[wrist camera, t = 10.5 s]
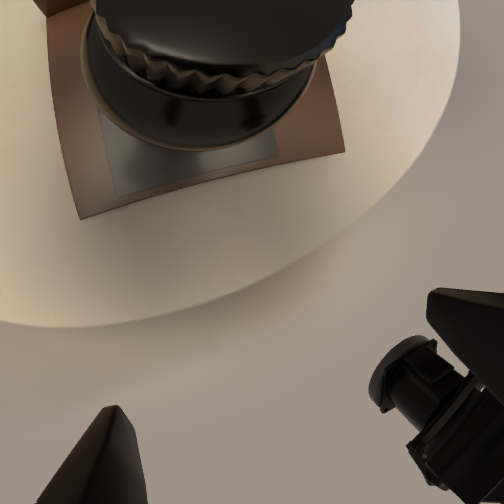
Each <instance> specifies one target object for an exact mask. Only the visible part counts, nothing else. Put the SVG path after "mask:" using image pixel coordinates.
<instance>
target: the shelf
mask: <svg viewBox="0 0 504 504" xmlns="http://www.w3.org/2000/svg"><path fill="white" fill-rule="evenodd" d="M33 1H34V2H35V4H36V5H37V6H38V7H39V9H40V10H41V11H42V13H43V14H44V15H45V16H46V21H47V47H48V61H49V72H50V81H51V90H52V97H53V104H54V111H55V117H56V123H57V129H58V134H59V139H60V144H61V149H62V154H63V158H64V163H65V167H66V171H67V175H68V179H69V183H70V187H71V191H72V195H73V198H74V202H75V205H76V209H77V212H78V216H79V219H80V220H82V219H85V218H88V217H91V216H94V215H97V214H100V213H103V212H106V211H109V210H112V209H115V208H118V207H121V206H124V205H128V204H131V203H134V202H137V201H140V200H144V199H147V198H150V197H154V196H157V195H161V194H164V193H168V192H171V191H175V190H178V189H182V188H185V187H189V186H193V185H196V184H200V183H204V182H208V181H212V180H216V179H220V178H224V177H228V176H232V175H236V174H240V173H244V172H249V171H253V170H257V169H262V168H266V167H271V166H276V165H280V164H285V163H290V162H295V161H300V160H305V159H310V158H315V157H321V156H326V155H332V154H337V153H343V152H345V146H344V141H343V135H342V130H341V125H340V120H339V115H338V110H337V105H336V100H335V96H334V91H333V87H332V83H331V78H330V74H329V70H328V66H327V62H326V58H325V54H324V55H322V56H320V57H319V58H318V59H317V65H316V68H315V72H314V76H313V78H312V81H311V83H310V85H309V87H308V89H307V91H306V93H305V95H304V96H303V98H302V99H301V101H300V102H299V103H298V105H297V106H296V107H295V108H294V109H293V111H292V112H291V113H290V114H289V115H288V116H287V117H286V118H285V119H283V120H282V121H281V122H280V123H278V124H277V125H276V126H274V127H273V128H271V129H270V130H268V131H267V132H265V133H263V134H261V135H259V136H258V137H255V138H253V139H251V140H248V141H246V142H244V143H241V144H238V145H235V146H232V147H228V148H224V149H219V150H214V151H208V152H203V153H197V154H191V155H173V154H167V153H162V152H159V151H156V150H153V149H151V148H149V147H147V146H145V145H144V144H142V143H141V142H139V141H138V140H136V139H135V138H133V137H132V136H130V135H129V134H127V133H126V132H124V131H123V130H122V129H120V128H119V127H118V126H116V125H115V124H114V123H113V122H112V121H111V120H110V119H109V118H108V117H107V116H106V115H105V114H104V113H103V112H102V111H101V109H100V108H99V107H98V105H97V104H96V102H95V101H94V100H93V98H92V96H91V94H90V92H89V91H88V88H87V86H86V83H85V81H84V77H83V73H82V68H81V61H80V47H81V38H82V34H83V29H84V26H85V23H86V21H87V18H88V16H89V14H90V12H91V10H92V8H93V7H92V5H91V3H90V0H33Z"/></svg>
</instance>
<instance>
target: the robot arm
mask: <svg viewBox="0 0 504 504" xmlns="http://www.w3.org/2000/svg"><path fill="white" fill-rule="evenodd" d="M426 318H427V321H428V323H429V324H430V325H431V327H432V328H433V329H434V330H435V331H436V332H437V334H438V335H439V336H440V337H441V338H442V340H443V341H444V342H445V343H446V345H447V346H448V347H449V348H450V349H451V351H452V352H453V353H454V354H455V355H456V356H457V357H458V358H459V359H460V361H461V362H463V364H464V365H465V366H466V367H467V368H468V369H469V373H468V375H467V376H466V377H463V376H462V375H461V374H460V373H458V372H457V371H455V370H454V366H452V365H451V364H450V363H448V362H447V361H446V360H444V359H443V358H442V357H440V356H439V355H438V354H436V348H437V341H436V340H435V339H432V340H430V341H428V342H427V343H425V344H424V345H422V346H420V347H419V348H417V349H415V350H414V351H412V352H410V353H408V354H407V355H405V356H403V357H402V358H400V359H398V360H396V361H395V362H393V363H391V364H389V365H387V366H386V367H385V369H384V371H383V382H382V394H381V404H380V411H381V412H382V413H386V412H388V411H390V410H391V409H393V408H395V407H396V408H397V409H398V410H399V411H400V412H401V413H402V414H403V415H404V416H405V417H406V418H407V419H408V421H409V422H410V423H411V424H412V425H413V426H414V427H415V428H416V429H417V430H418V431H419V432H420V433H419V434H418V435H417V436H416V437H415V438H414V439H413V440H412V441H410V442H409V443H408V444H407V445H406V447H407V448H408V450H409V454H410V455H411V457H412V458H413V460H414V461H415V463H416V464H417V465H418V467H419V469H420V470H421V471H422V473H423V475H424V478H425V480H426V482H427V484H428V485H430V486H437V487H439V488H440V489H442V490H445V491H448V490H449V489H450V490H452V491H453V492H454V493H455V494H456V495H457V496H458V497H459V498H460V499H461V500H462V501H463V502H464V503H465V504H479V503H481V502H489V503H501V504H504V293H495V292H484V291H471V290H462V289H450V288H437V289H435V290H433V291H431V292H430V293H429V294H428V297H427V310H426ZM482 387H483V388H484V390H483V391H482V392H481V391H480V390H481V389H482ZM35 504H148V501H147V492H146V485H145V479H144V474H143V469H142V465H141V459H140V454H139V450H138V444H137V438H136V433H135V430H134V427H133V425H132V424H131V423H130V421H129V420H128V418H127V416H126V415H125V414H124V412H123V411H122V409H121V408H120V407H119V406H118V405H113V406H108V407H104V408H103V409H102V410H101V411H100V412H99V414H98V415H97V416H96V418H95V419H94V421H93V422H92V423H91V425H90V426H89V427H88V429H87V430H86V432H85V433H84V435H83V436H82V437H81V439H80V440H79V441H78V443H77V444H76V446H75V447H74V448H73V450H72V451H71V453H70V454H69V455H68V457H67V458H66V460H65V461H64V462H63V464H62V465H61V467H60V468H59V469H58V471H57V472H56V474H55V475H54V476H53V478H52V479H51V481H50V482H49V484H48V485H47V486H46V488H45V490H44V491H43V492H42V494H41V496H40V497H39V498H38V500H37V503H35Z"/></svg>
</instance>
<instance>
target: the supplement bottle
mask: <svg viewBox="0 0 504 504" xmlns="http://www.w3.org/2000/svg"><path fill="white" fill-rule="evenodd" d="M353 2H354V0H90V3H91V5H92V7H93V8H92V10H91V12H90V14H89V16H88V18H87V21H86V23H85V26H84V29H83V34H82V38H81V47H80V61H81V68H82V73H83V77H84V81H85V83H86V86H87V88H88V91H89V92H90V94H91V96H92V98H93V100H94V101H95V102H96V104H97V105H98V107H99V108H100V109H101V111H102V112H103V113H104V114H105V115H106V116H107V117H108V118H109V119H110V120H111V121H112V122H113V123H114V124H115V125H116V126H118V127H119V128H120V129H122V130H123V131H124V132H126V133H127V134H129V135H130V136H132V137H133V138H135V139H136V140H138V141H139V142H141V143H142V144H144V145H145V146H147V147H149V148H151V149H153V150H156V151H159V152H162V153H167V154H173V155H191V154H197V153H203V152H208V151H214V150H219V149H224V148H228V147H232V146H235V145H238V144H241V143H244V142H246V141H248V140H251V139H253V138H255V137H258V136H259V135H261V134H263V133H265V132H267V131H268V130H270V129H271V128H273V127H274V126H276V125H277V124H278V123H280V122H281V121H282V120H283V119H285V118H286V117H287V116H288V115H289V114H290V113H291V112H292V111H293V109H294V108H295V107H296V106H297V105H298V103H299V102H300V101H301V99H302V98H303V96H304V95H305V93H306V91H307V89H308V87H309V85H310V83H311V81H312V78H313V76H314V72H315V68H316V65H317V59H318V58H319V57H320V56H322V55H324V54H325V53H327V52H329V51H330V50H331V49H332V48H333V47H334V45H335V42H336V39H338V38H340V37H341V36H342V35H343V34H344V33H345V31H346V22H347V21H348V20H349V19H350V18H351V17H352V9H351V5H352V4H353Z"/></svg>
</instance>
